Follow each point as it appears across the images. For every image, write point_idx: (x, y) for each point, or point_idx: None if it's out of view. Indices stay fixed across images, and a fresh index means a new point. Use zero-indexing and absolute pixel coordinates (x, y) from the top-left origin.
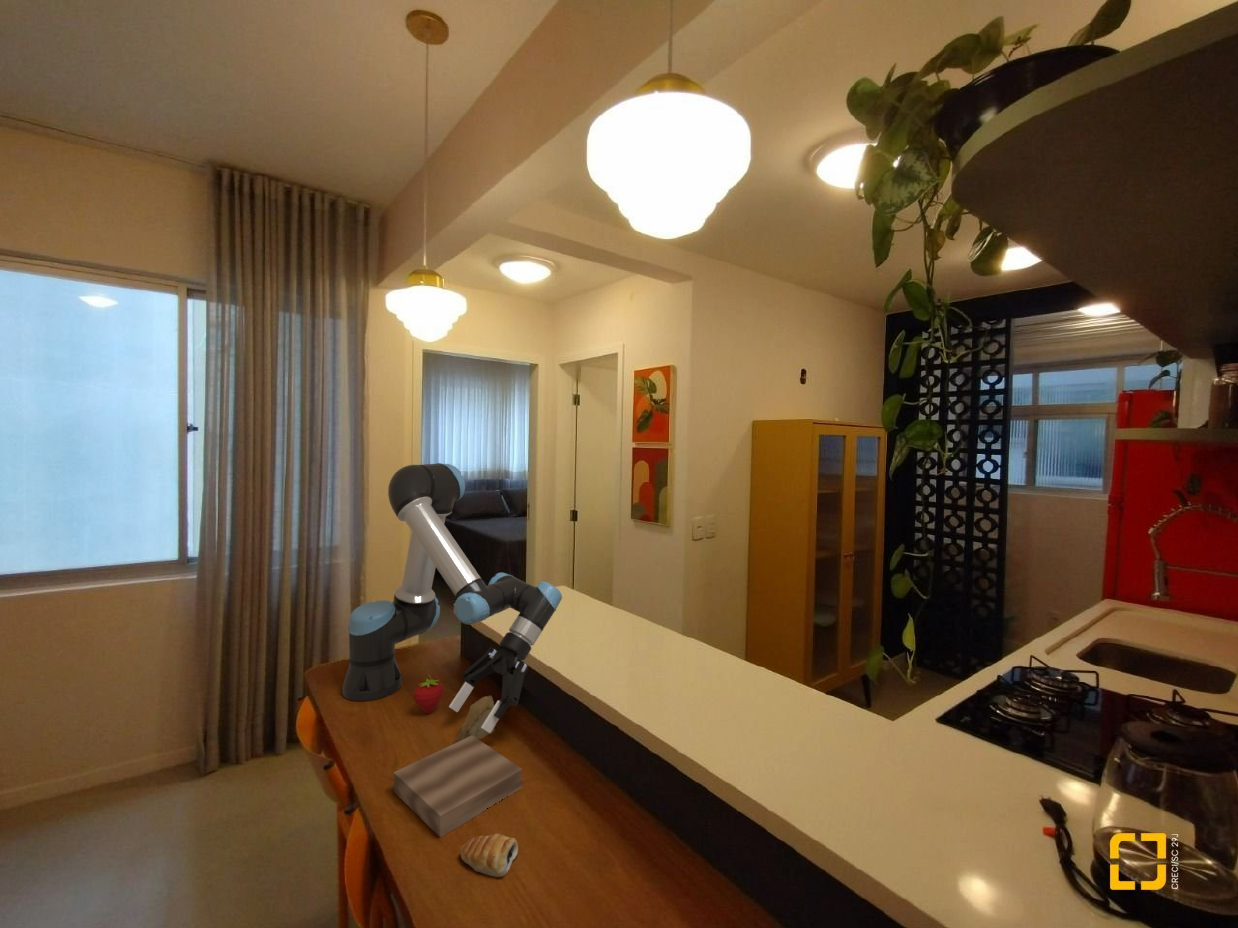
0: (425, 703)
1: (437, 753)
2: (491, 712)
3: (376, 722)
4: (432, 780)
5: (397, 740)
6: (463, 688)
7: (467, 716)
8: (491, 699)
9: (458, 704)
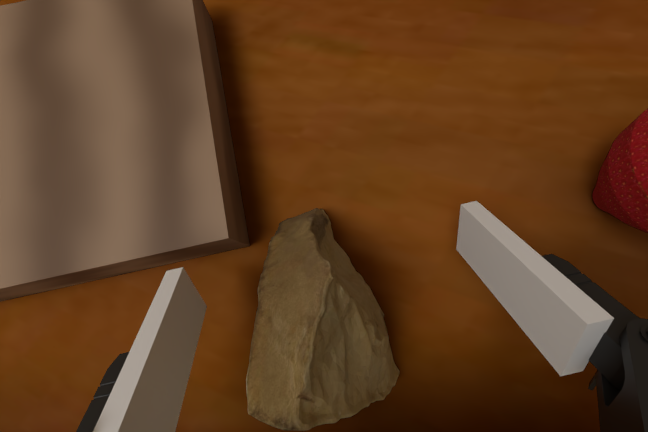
0: (613, 151)
1: (196, 93)
2: (145, 340)
3: (607, 41)
4: (67, 45)
5: (456, 72)
6: (544, 286)
7: (311, 243)
8: (266, 409)
9: (476, 251)
